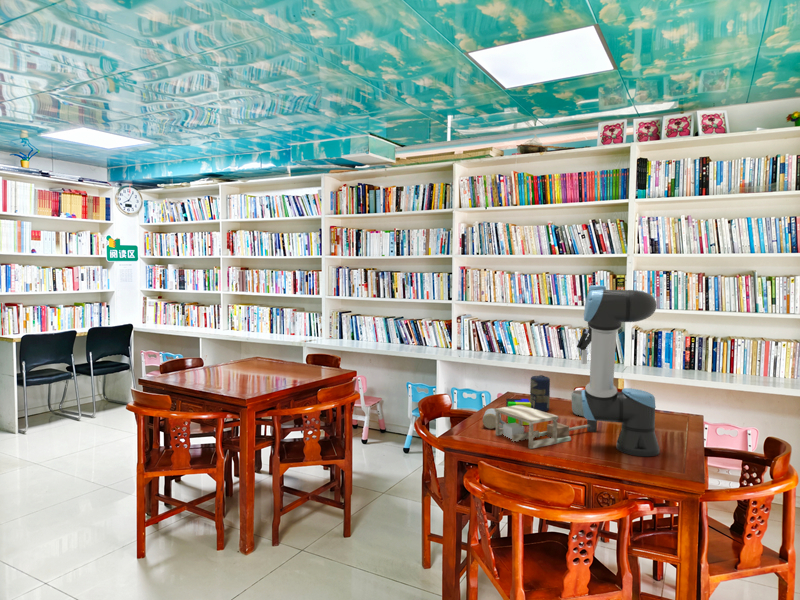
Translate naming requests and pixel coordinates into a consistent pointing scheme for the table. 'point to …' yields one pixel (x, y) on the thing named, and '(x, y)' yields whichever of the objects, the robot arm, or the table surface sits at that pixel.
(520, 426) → the grey block
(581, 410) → the planter
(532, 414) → the lane shelf
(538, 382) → the canister
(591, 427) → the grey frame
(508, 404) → the puzzle toy
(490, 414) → the ceramic mug
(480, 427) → the table surface
